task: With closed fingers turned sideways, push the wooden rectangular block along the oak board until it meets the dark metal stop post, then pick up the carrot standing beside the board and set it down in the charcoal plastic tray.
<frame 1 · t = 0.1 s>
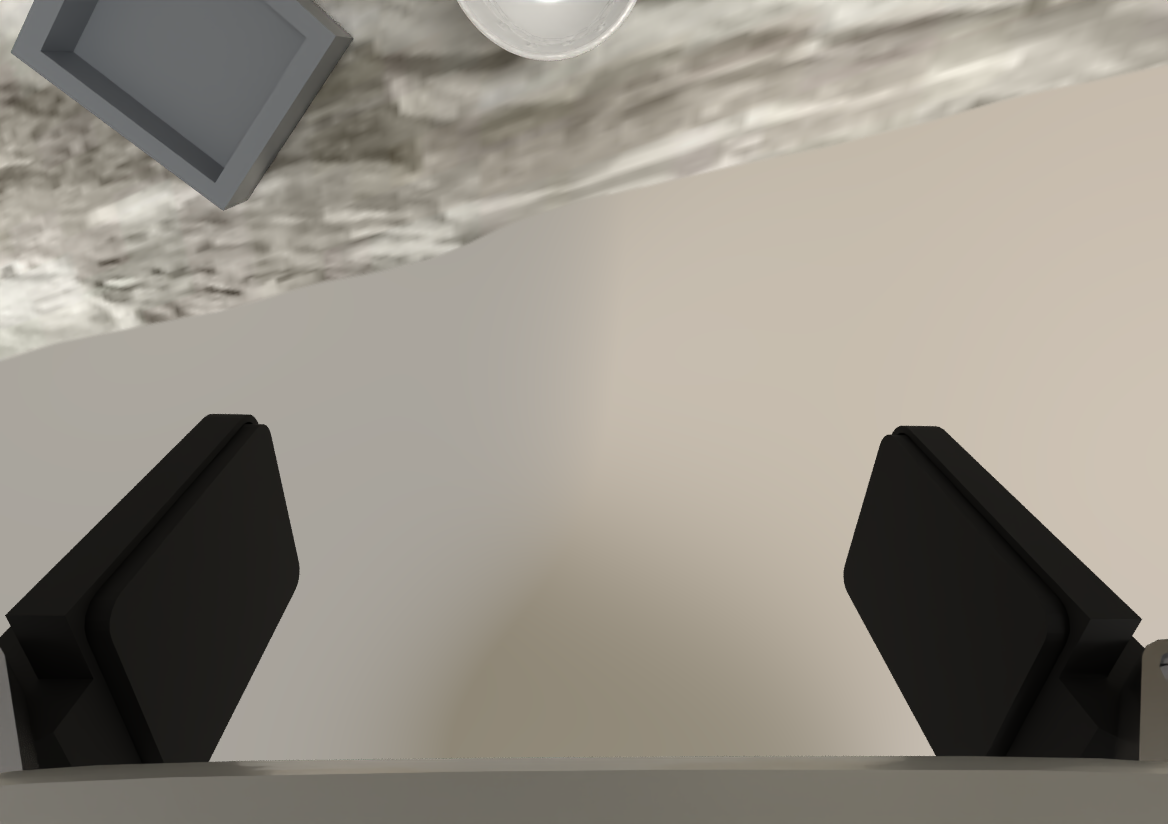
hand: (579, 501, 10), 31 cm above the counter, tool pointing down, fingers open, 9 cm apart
tray: (203, 45, 34), on the counter
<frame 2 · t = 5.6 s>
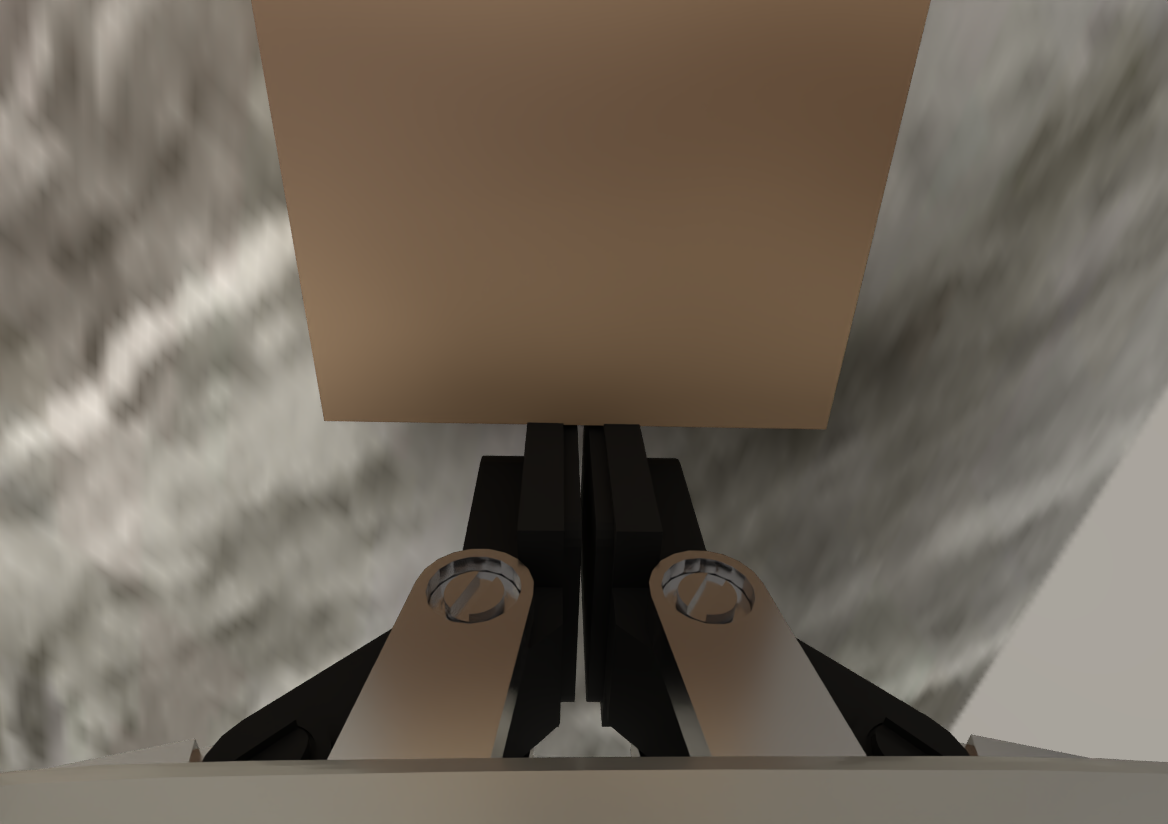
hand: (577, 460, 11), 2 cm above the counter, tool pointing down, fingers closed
wooden rectangular block: (583, 135, 10), point 1 cm above the counter, touching gripper
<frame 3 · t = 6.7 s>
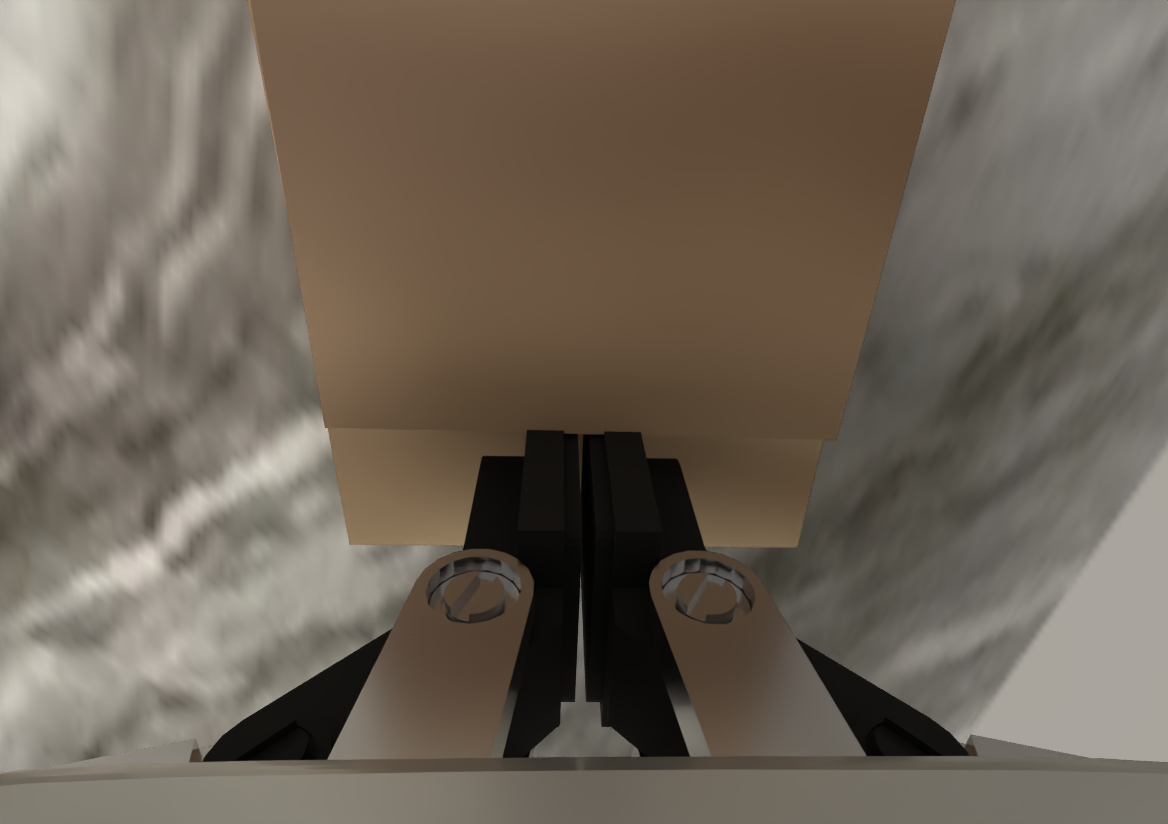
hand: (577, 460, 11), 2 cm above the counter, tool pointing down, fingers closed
wooden rectangular block: (591, 136, 9), point 1 cm above the counter, touching board, gripper
board: (587, 103, 10), on the counter
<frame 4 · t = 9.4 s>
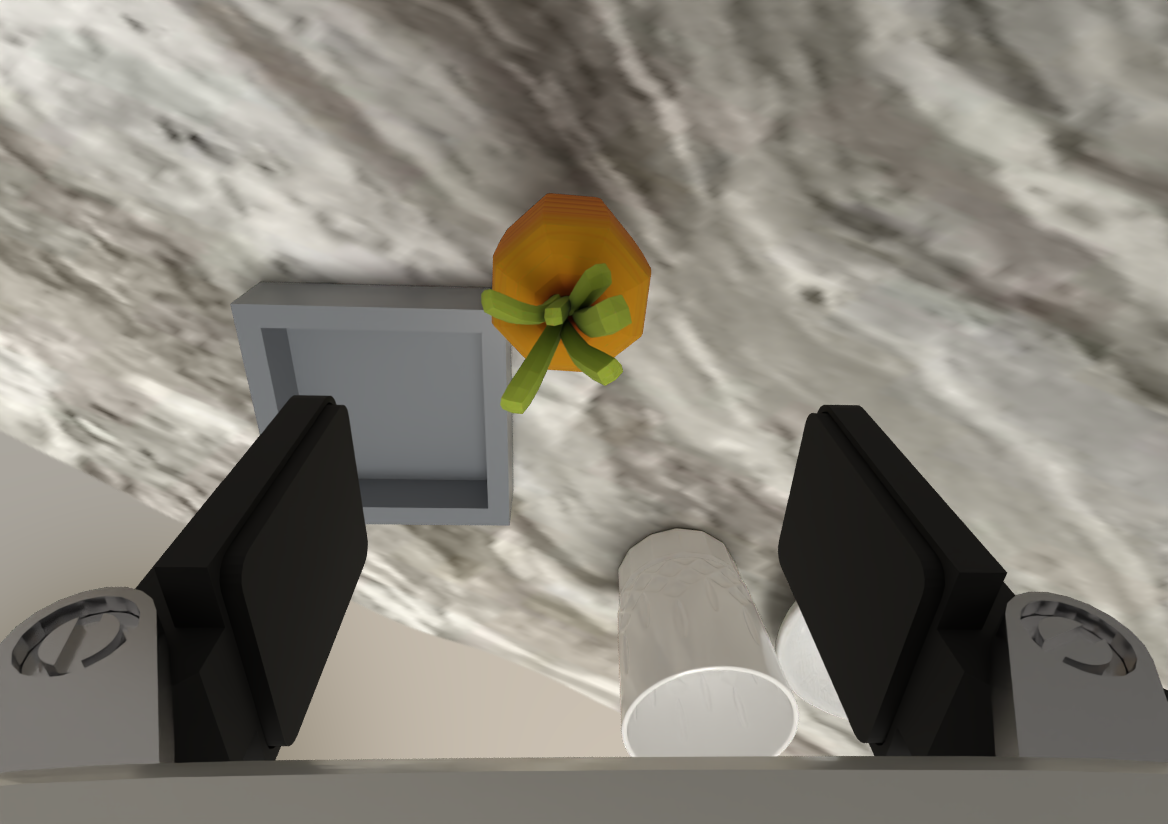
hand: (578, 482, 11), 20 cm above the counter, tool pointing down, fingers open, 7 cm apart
white cup: (675, 570, 38), on the counter
spoon rest: (939, 619, 41), on the counter
tray: (398, 395, 32), on the counter
carrot: (567, 221, 28), on the counter
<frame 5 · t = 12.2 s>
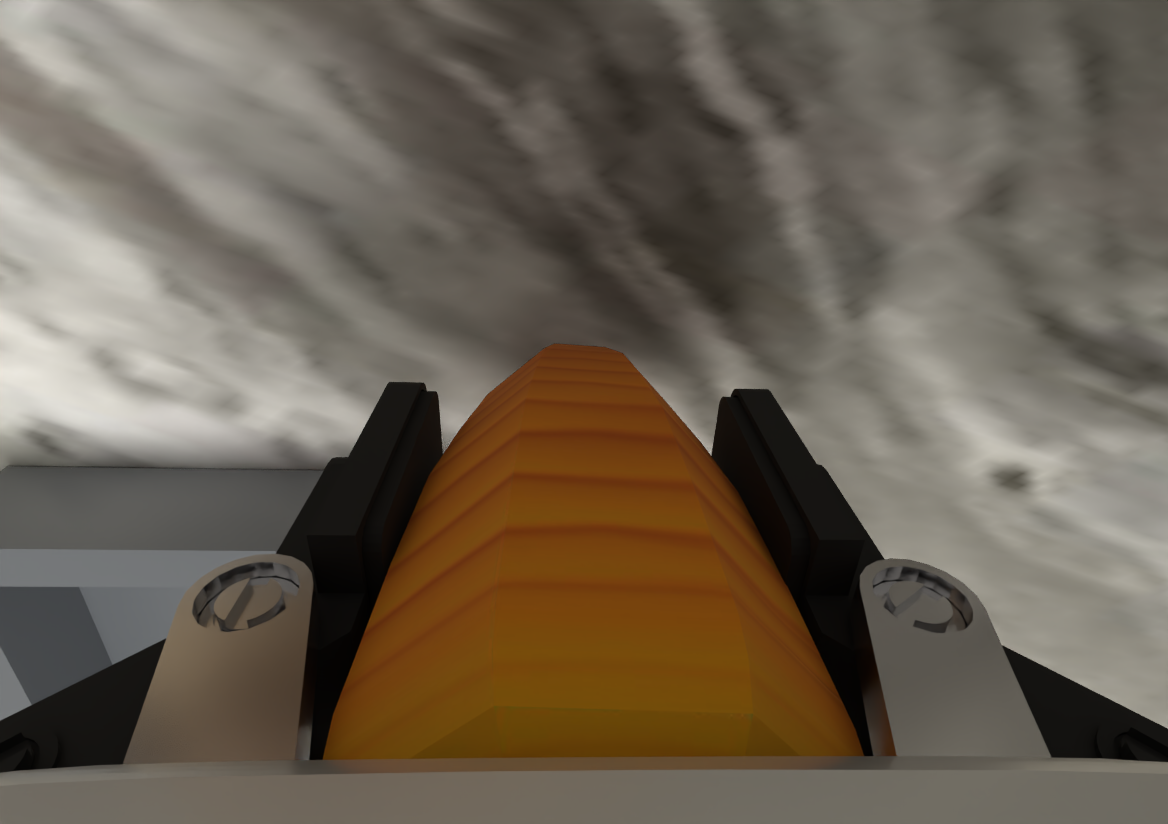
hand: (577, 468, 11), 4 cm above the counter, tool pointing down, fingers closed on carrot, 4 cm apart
tray: (282, 632, 18), on the counter
carrot: (573, 359, 15), on the counter, touching gripper
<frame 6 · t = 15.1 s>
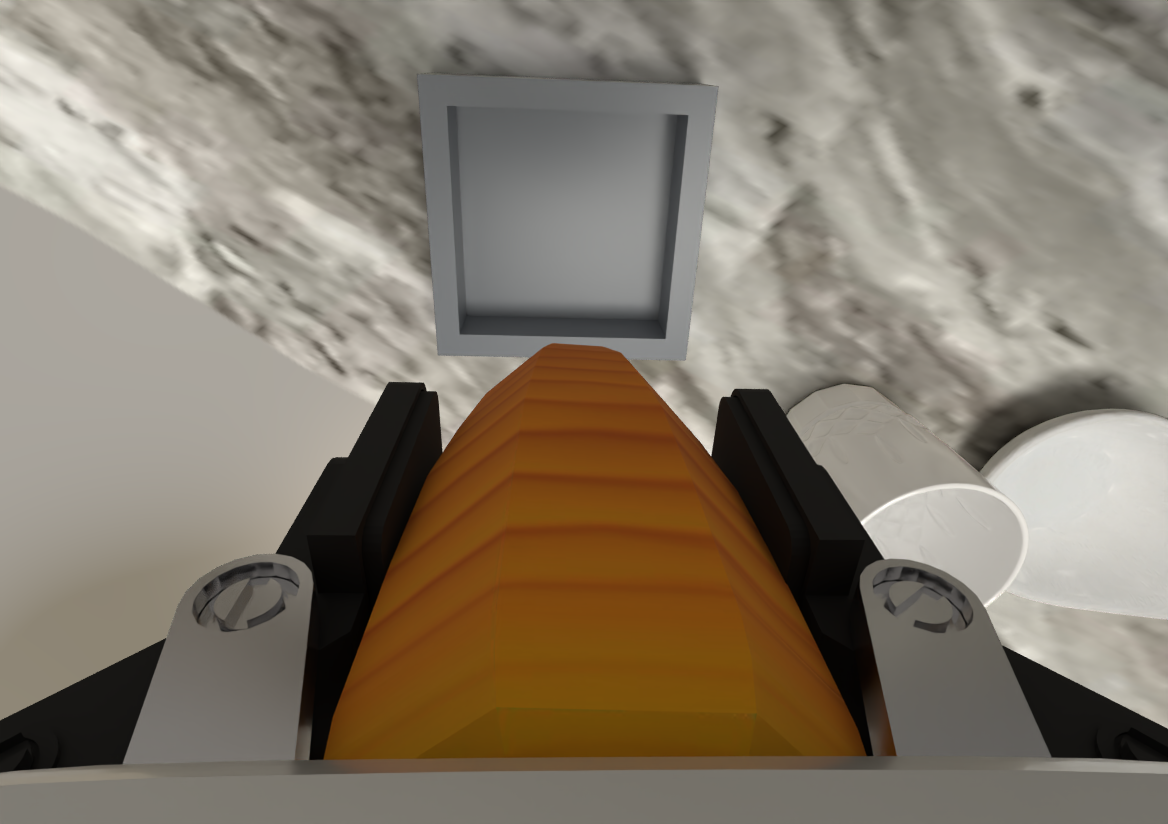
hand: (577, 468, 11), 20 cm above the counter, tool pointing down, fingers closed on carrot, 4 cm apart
white cup: (834, 436, 35), on the counter
spoon rest: (1119, 499, 38), on the counter
tray: (565, 217, 29), on the counter
carrot: (570, 359, 15), point 16 cm above the counter, touching gripper
when the fingers open (6 cm above the counter, at t = 18.4 s): carrot stays where it is, resting on tray.
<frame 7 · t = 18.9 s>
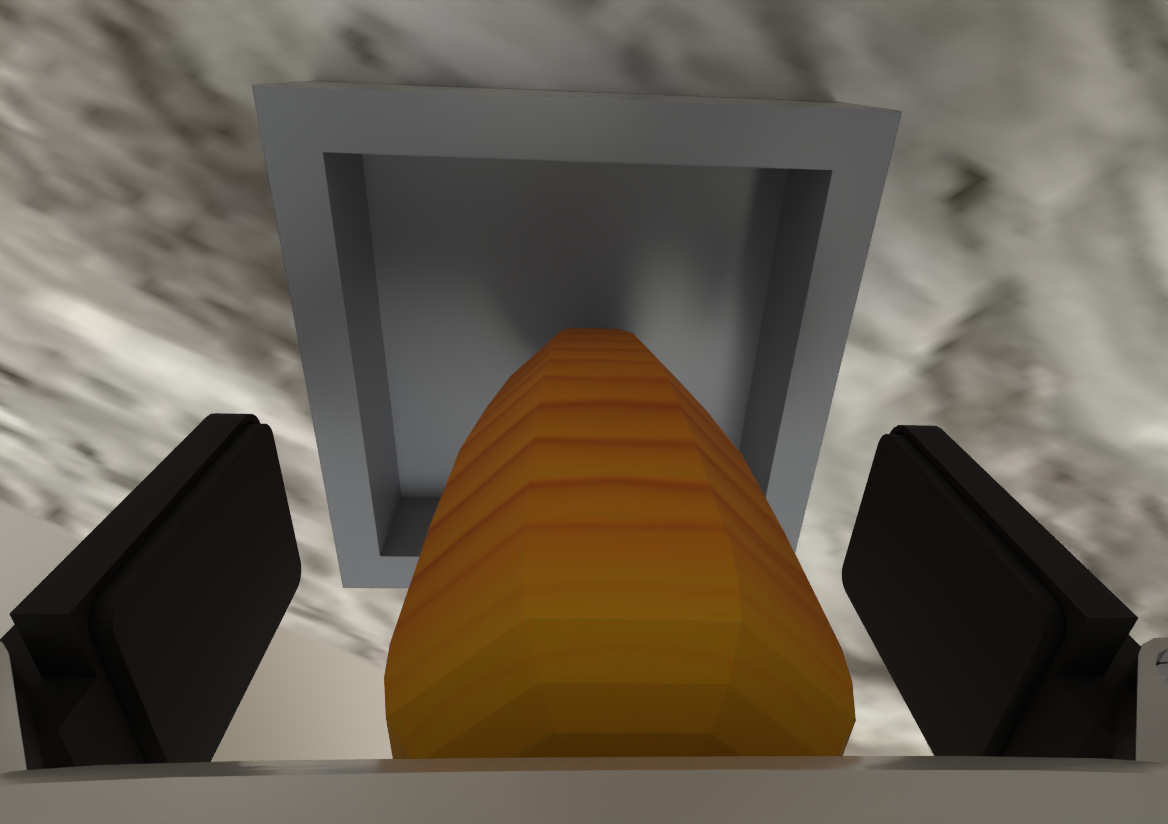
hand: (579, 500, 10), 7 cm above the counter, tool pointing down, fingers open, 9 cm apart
tray: (572, 337, 16), on the counter
carrot: (588, 342, 16), resting on tray
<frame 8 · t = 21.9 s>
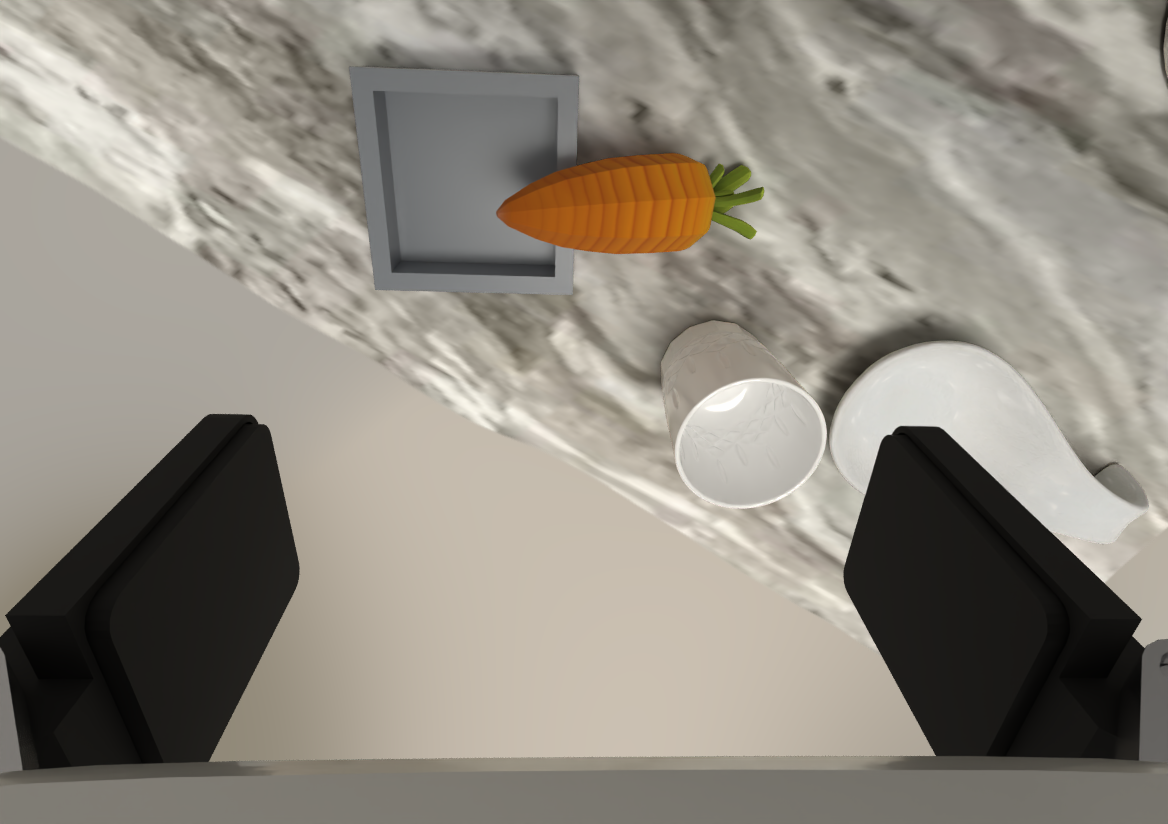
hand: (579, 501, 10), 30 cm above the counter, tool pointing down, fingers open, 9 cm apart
white cup: (710, 366, 43), on the counter
spoon rest: (968, 430, 46), on the counter
tray: (476, 181, 37), on the counter
carrot: (493, 214, 31), point 7 cm above the counter, touching tray
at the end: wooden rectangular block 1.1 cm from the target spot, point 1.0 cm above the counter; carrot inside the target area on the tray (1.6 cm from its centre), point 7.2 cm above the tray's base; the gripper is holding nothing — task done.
